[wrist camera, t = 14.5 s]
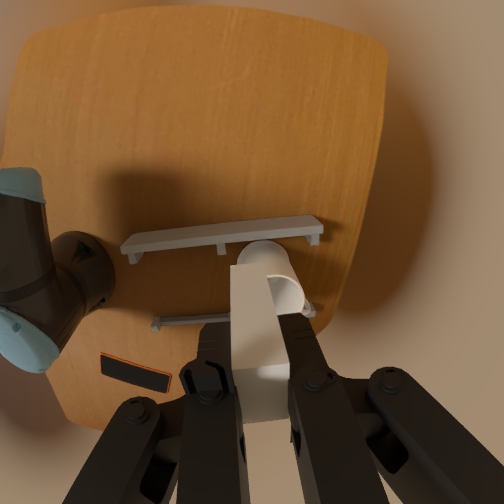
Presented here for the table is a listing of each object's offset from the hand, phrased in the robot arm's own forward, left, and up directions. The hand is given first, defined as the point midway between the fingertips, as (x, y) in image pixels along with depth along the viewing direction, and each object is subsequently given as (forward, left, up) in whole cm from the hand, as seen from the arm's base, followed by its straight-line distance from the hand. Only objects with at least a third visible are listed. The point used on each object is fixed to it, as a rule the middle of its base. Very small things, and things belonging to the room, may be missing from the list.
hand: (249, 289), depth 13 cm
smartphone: (-27, -36, -30) cm, 54 cm away
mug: (+4, -13, -30) cm, 33 cm away
